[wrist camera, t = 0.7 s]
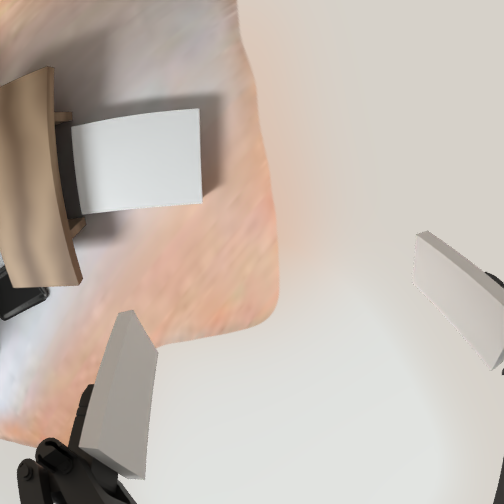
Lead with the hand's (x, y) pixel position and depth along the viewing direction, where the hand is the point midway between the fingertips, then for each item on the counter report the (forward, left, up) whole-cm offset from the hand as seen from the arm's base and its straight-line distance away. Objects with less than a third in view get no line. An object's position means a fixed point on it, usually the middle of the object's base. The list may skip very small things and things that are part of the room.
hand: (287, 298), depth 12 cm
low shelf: (-24, +4, -22) cm, 33 cm away
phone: (-37, -12, -23) cm, 45 cm away
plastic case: (-11, +4, -23) cm, 25 cm away
